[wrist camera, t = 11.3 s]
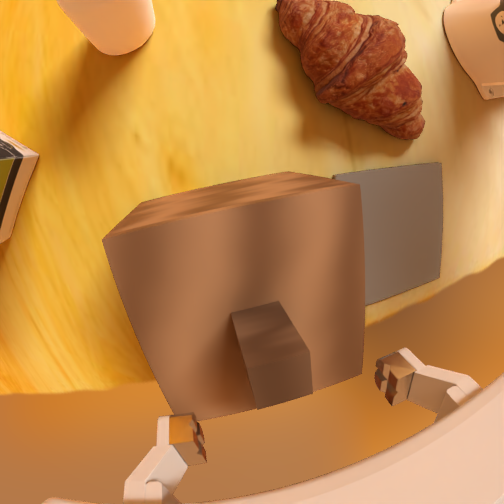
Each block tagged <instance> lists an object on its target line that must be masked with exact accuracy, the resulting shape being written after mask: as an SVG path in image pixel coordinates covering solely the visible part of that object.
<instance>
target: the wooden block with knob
mask: <svg viewBox="0 0 504 504" xmlns="http://www.w3.org/2000/svg"><path fill="white" fill-rule="evenodd" d="M102 242H103V245H104V249H105V252H106V255H107V258H108V261H109V264H110V267H111V270H112V273H113V276H114V279H115V282H116V285H117V288H118V291H119V293H120V296H121V299H122V301H123V304H124V307H125V309H126V312H127V314H128V317H129V319H130V322H131V324H132V327H133V329H134V332H135V334H136V336H137V339H138V341H139V343H140V346H141V348H142V350H143V352H144V355H145V357H146V359H147V361H148V363H149V366H150V368H151V370H152V372H153V374H154V376H155V378H156V380H157V382H158V384H159V386H160V388H161V390H162V392H163V394H164V396H165V398H166V400H167V402H168V404H169V405H170V407H171V409H172V411H173V413H174V415H176V414H184V413H191V412H194V414H195V416H196V421H201V420H207V419H212V418H216V417H221V416H226V415H231V414H235V413H240V412H244V411H248V410H252V409H256V408H257V409H262V408H265V407H269V406H273V405H276V404H280V403H283V402H286V401H290V400H293V399H297V398H300V397H303V396H306V395H309V394H312V393H313V392H314V391H317V390H320V389H323V388H326V387H328V386H331V385H334V384H337V383H339V382H342V381H345V380H347V379H350V378H353V377H355V376H358V375H360V374H362V365H363V348H364V327H365V252H364V230H363V214H362V200H361V189H360V184H355V183H350V182H345V181H340V180H335V179H330V178H324V177H318V176H313V175H307V174H301V173H295V172H282V173H276V174H270V175H265V176H259V177H254V178H248V179H243V180H238V181H233V182H228V183H223V184H218V185H213V186H209V187H204V188H200V189H195V190H191V191H186V192H182V193H178V194H173V195H169V196H165V197H161V198H157V199H153V200H149V201H145V202H141V203H140V204H139V205H138V206H137V207H136V208H135V209H134V210H133V211H132V212H130V213H129V214H128V215H127V216H126V217H125V218H124V219H123V220H122V221H121V222H120V223H119V224H117V225H116V226H115V227H114V228H113V229H112V230H111V231H110V232H109V233H108V234H107V235H106V236H105V237H104V238H103V239H102Z"/></svg>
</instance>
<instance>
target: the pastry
mask: <svg viewBox="0 0 504 504" xmlns="http://www.w3.org/2000/svg"><path fill="white" fill-rule="evenodd" d="M275 9H276V10H277V11H278V12H279V25H280V29H281V31H282V33H283V35H284V36H285V38H286V39H288V40H290V42H291V43H292V44H293V45H294V46H296V47H297V48H299V51H300V53H301V58H300V59H301V64H302V67H303V69H304V71H305V74H306V75H307V76H308V77H309V78H310V79H311V80H312V81H313V83H314V87H315V89H314V91H315V92H316V97H317V99H318V100H319V101H320V102H321V103H323V104H325V103H329V104H331V105H333V106H334V107H337V108H339V109H341V110H342V111H343V112H345V113H347V114H349V115H351V116H352V117H353V118H354V119H362V120H365V121H367V122H368V123H369V124H375V125H379V126H380V127H381V128H382V129H384V131H386V132H387V133H389V134H390V135H392V136H394V137H397V138H399V139H405V140H407V139H416V138H418V137H419V136H420V134H421V132H422V131H423V128H424V124H425V120H424V118H423V116H422V115H421V114H420V113H421V110H422V102H423V101H422V98H421V94H422V92H421V90H422V86H421V83H420V82H419V81H418V79H417V78H416V77H415V76H414V74H413V73H412V72H411V70H410V69H409V68H408V67H407V66H405V64H404V63H405V62H406V59H407V53H406V51H405V50H404V49H405V37H404V35H403V33H402V32H401V30H400V28H399V27H398V26H397V25H398V24H397V23H396V22H394V21H391V20H389V19H385V18H382V17H380V16H379V15H376V16H372V15H362V14H355V11H354V10H353V8H352V7H351V6H349V5H348V4H345V3H341V2H339V1H327V0H325V1H324V0H277V4H276V7H275Z"/></svg>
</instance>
